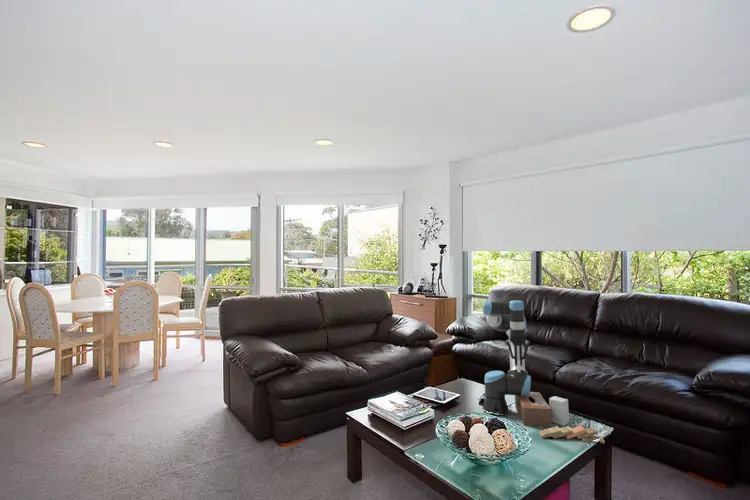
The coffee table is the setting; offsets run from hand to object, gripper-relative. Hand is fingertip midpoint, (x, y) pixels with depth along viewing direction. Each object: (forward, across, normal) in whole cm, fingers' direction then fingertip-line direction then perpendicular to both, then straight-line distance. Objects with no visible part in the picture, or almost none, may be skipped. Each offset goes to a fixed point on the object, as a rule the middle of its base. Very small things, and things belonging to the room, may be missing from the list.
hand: (518, 371), depth 217 cm
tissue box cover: (+31, +7, +16) cm, 35 cm away
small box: (+31, +21, +10) cm, 39 cm away
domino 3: (+29, +26, -8) cm, 40 cm away
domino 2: (+30, +14, -9) cm, 34 cm away
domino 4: (+30, +29, -8) cm, 42 cm away
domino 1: (+30, +9, -10) cm, 33 cm away
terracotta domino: (+30, +21, -8) cm, 37 cm away
